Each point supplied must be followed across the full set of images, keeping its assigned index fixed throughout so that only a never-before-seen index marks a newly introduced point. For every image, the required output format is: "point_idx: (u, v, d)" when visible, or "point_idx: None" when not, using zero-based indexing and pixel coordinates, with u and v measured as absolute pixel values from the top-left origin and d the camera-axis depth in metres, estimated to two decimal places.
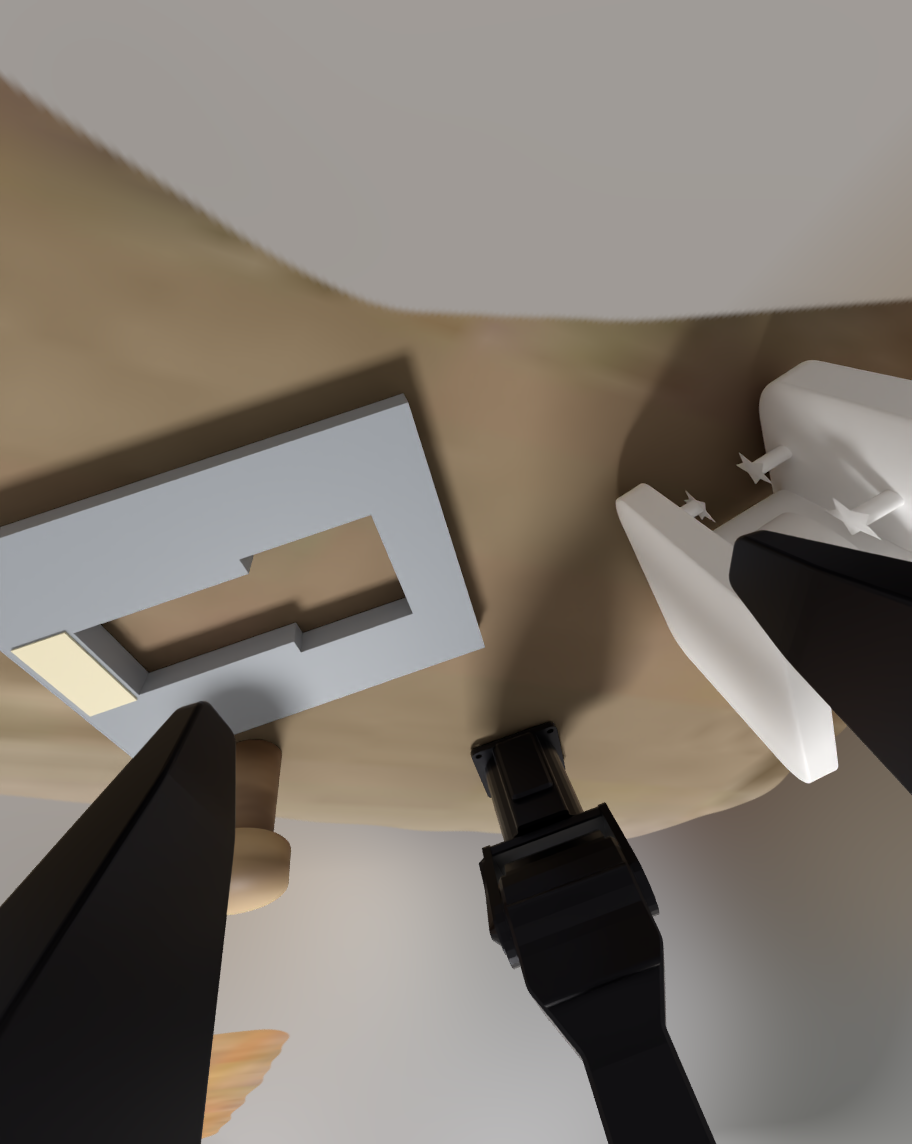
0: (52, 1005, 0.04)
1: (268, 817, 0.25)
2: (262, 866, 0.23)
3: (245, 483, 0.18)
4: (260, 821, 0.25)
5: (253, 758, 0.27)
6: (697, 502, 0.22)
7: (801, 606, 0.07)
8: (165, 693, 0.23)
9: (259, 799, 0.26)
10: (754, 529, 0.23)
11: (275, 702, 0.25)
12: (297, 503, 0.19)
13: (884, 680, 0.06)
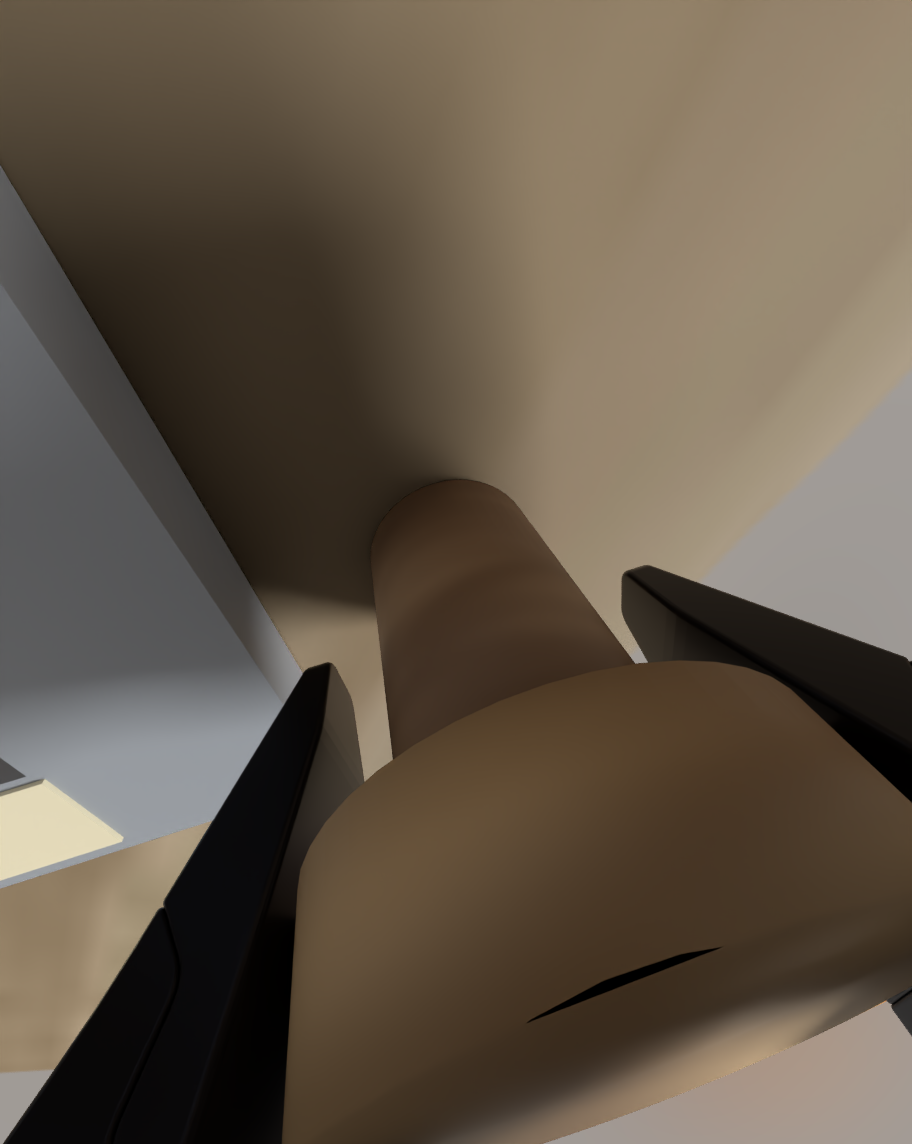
0: (280, 928, 0.04)
1: (490, 651, 0.05)
2: (468, 1067, 0.02)
3: None
4: (456, 705, 0.05)
5: (380, 573, 0.08)
6: None
7: (672, 647, 0.07)
8: (6, 734, 0.08)
9: (421, 643, 0.06)
10: None
11: None
12: None
13: None
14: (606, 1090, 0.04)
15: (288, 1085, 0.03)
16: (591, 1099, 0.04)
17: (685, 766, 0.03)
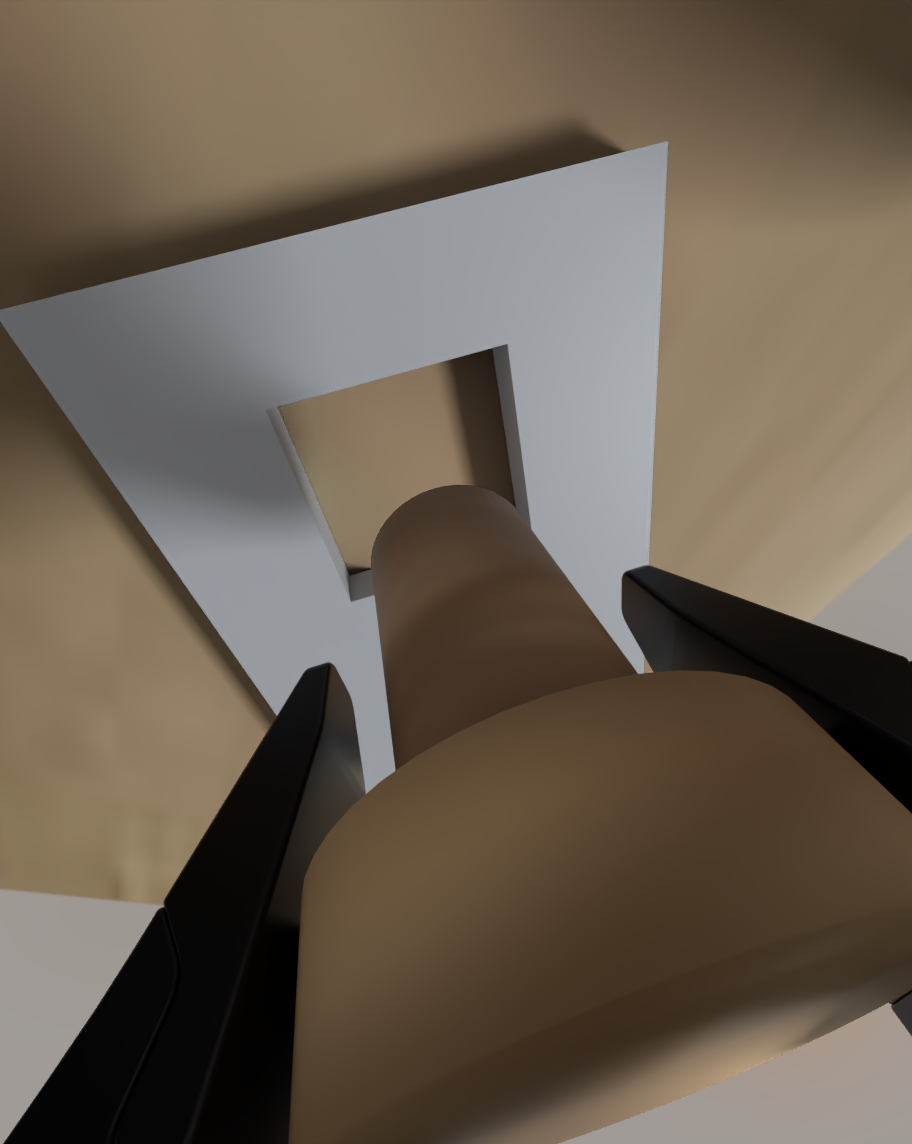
0: (280, 928, 0.04)
1: (490, 658, 0.05)
2: (474, 1077, 0.02)
3: (224, 582, 0.13)
4: (457, 712, 0.05)
5: (381, 578, 0.08)
6: None
7: (672, 647, 0.07)
8: None
9: (423, 649, 0.06)
10: None
11: (614, 587, 0.16)
12: (251, 523, 0.12)
13: None
14: (609, 1097, 0.04)
15: (294, 1094, 0.03)
16: (593, 1104, 0.04)
17: (686, 778, 0.03)
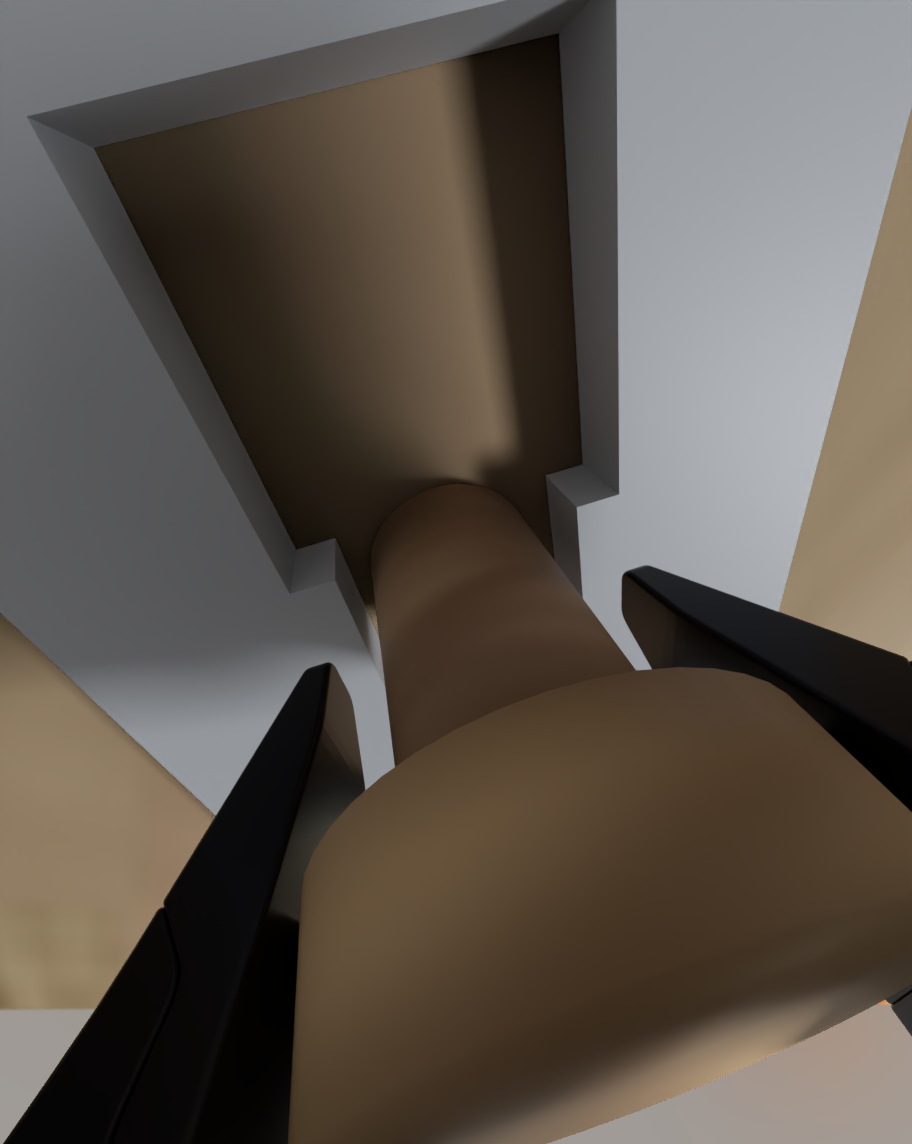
0: (280, 928, 0.04)
1: (490, 656, 0.05)
2: (472, 1071, 0.02)
3: (28, 554, 0.07)
4: (456, 710, 0.05)
5: (380, 577, 0.08)
6: None
7: (672, 647, 0.07)
8: None
9: (422, 647, 0.06)
10: None
11: (738, 570, 0.10)
12: (58, 428, 0.06)
13: None
14: (608, 1092, 0.04)
15: (294, 1088, 0.03)
16: (592, 1100, 0.04)
17: (683, 772, 0.03)
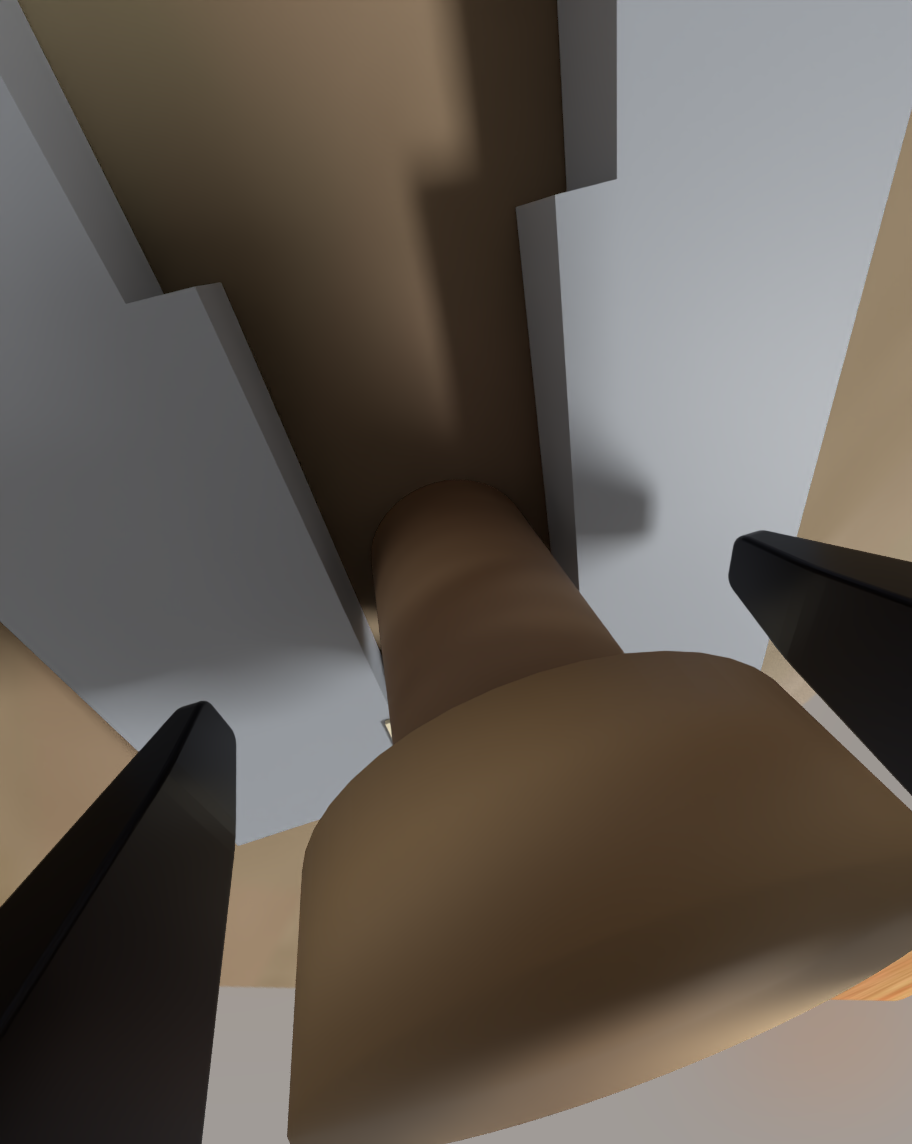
0: (53, 1004, 0.04)
1: (487, 644, 0.05)
2: (461, 1023, 0.02)
3: None
4: (454, 696, 0.05)
5: (381, 571, 0.08)
6: None
7: (800, 606, 0.07)
8: (601, 609, 0.10)
9: (420, 636, 0.06)
10: None
11: (776, 356, 0.07)
12: None
13: (883, 681, 0.06)
14: (596, 1061, 0.04)
15: (295, 1048, 0.03)
16: (582, 1070, 0.04)
17: (667, 747, 0.03)
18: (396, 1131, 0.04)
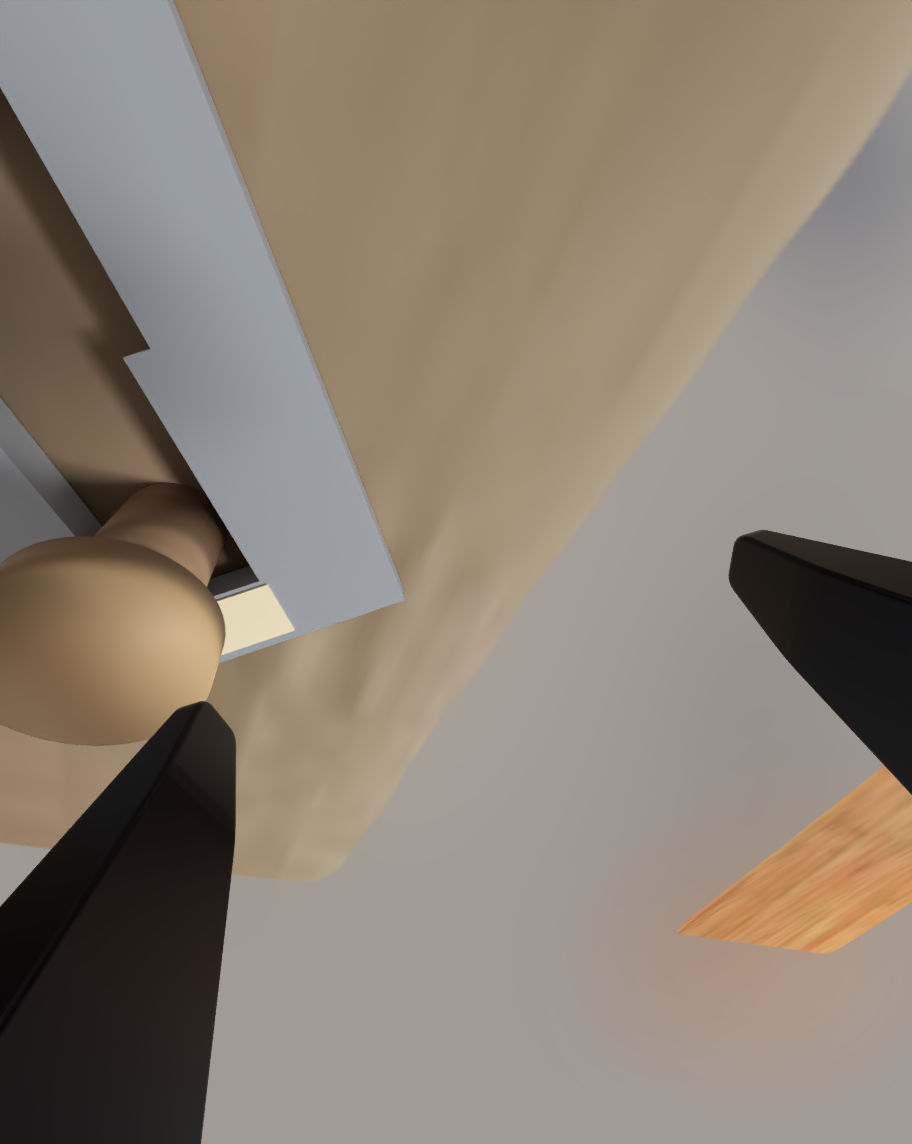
0: (52, 1005, 0.04)
1: None
2: None
3: None
4: None
5: None
6: None
7: (801, 606, 0.07)
8: (257, 554, 0.17)
9: None
10: None
11: (287, 415, 0.15)
12: None
13: (883, 680, 0.06)
14: (80, 684, 0.11)
15: None
16: (79, 690, 0.11)
17: (42, 554, 0.10)
18: (3, 703, 0.11)
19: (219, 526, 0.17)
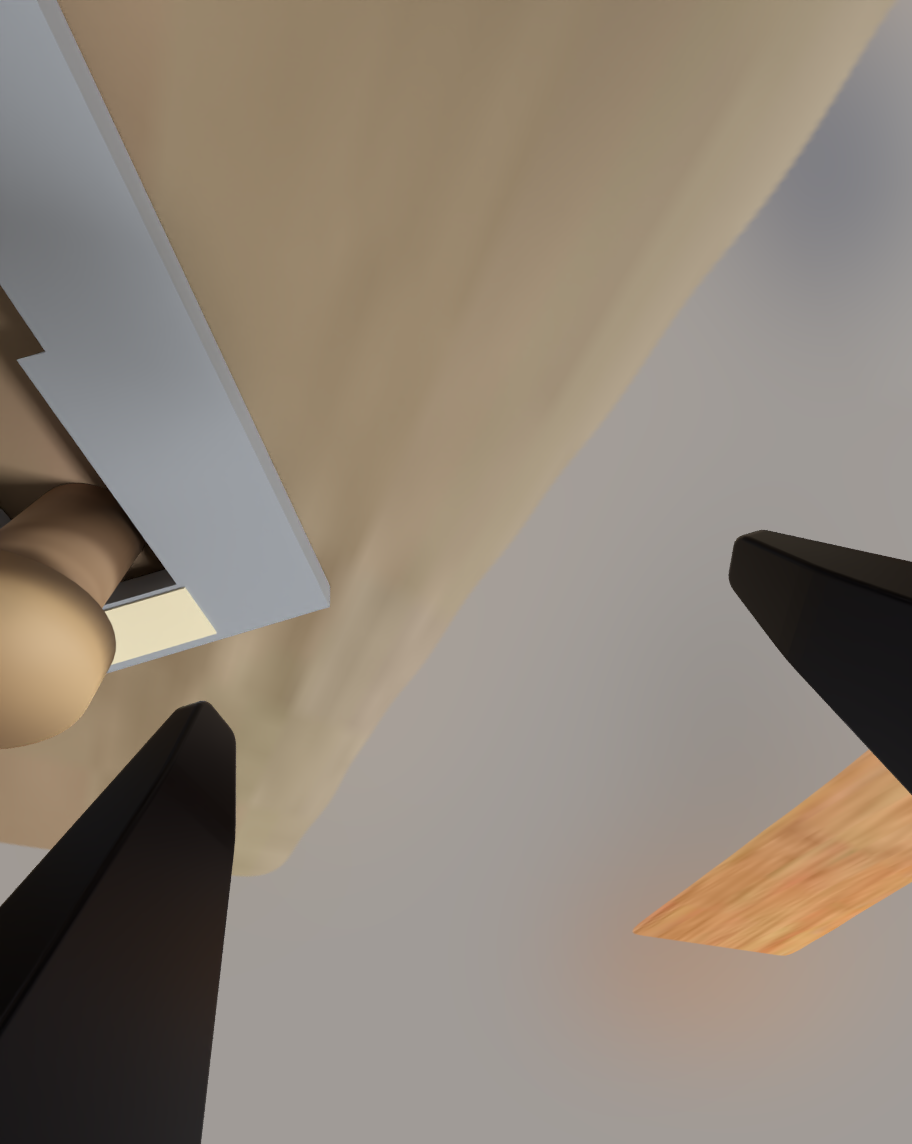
0: (52, 1005, 0.04)
1: None
2: None
3: None
4: None
5: None
6: None
7: (801, 606, 0.07)
8: (172, 557, 0.17)
9: None
10: None
11: (194, 421, 0.15)
12: None
13: (884, 680, 0.06)
14: None
15: None
16: None
17: None
18: None
19: (134, 528, 0.17)
